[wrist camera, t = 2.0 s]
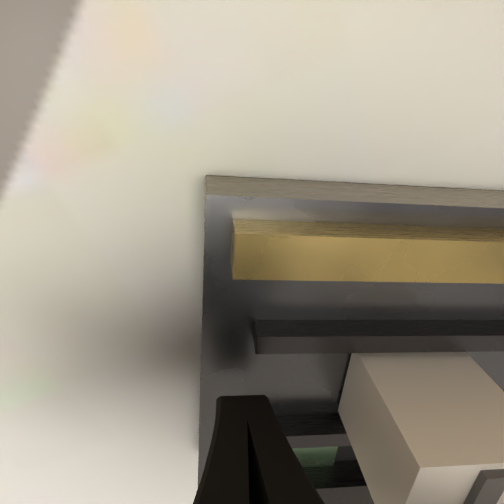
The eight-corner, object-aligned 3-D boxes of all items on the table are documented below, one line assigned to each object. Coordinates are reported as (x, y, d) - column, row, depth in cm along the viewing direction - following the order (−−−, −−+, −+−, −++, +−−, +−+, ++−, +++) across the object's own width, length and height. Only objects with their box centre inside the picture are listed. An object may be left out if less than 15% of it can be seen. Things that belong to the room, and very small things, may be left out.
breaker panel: (590, 195, 12) (695, 227, 10) (473, 438, 18) (521, 503, 15) (205, 175, 11) (205, 208, 8) (198, 451, 16) (196, 527, 13)
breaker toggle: (459, 344, 12) (575, 467, 8) (434, 407, 13) (526, 540, 9) (353, 345, 11) (425, 476, 8) (337, 410, 13) (393, 551, 9)
